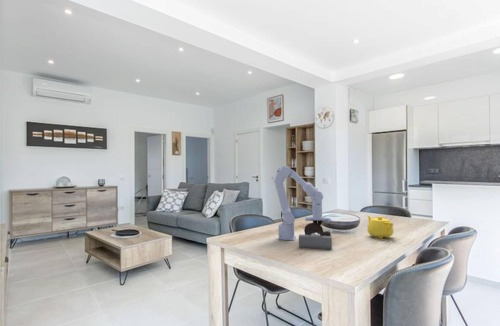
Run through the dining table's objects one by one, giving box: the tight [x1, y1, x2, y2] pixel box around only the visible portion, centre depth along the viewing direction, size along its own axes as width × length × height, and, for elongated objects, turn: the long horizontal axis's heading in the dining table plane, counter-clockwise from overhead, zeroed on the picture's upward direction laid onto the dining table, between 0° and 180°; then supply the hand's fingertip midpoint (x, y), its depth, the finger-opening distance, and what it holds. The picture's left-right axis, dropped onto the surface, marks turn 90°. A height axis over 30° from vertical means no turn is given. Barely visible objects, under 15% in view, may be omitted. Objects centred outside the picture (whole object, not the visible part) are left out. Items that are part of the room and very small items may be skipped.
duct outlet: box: [298, 233, 333, 250], centre depth 148 cm, size 17×5×7 cm, turn 73°
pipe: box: [303, 222, 332, 236], centre depth 159 cm, size 10×15×15 cm
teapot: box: [366, 214, 394, 240], centre depth 168 cm, size 13×20×12 cm
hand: (317, 232), depth 168 cm, fingers closed, pressing on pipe
